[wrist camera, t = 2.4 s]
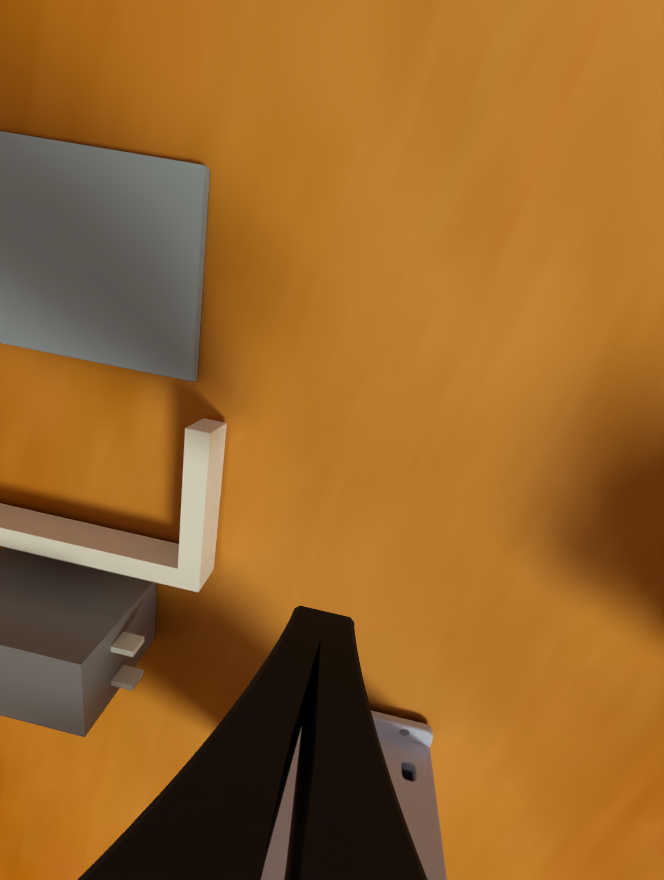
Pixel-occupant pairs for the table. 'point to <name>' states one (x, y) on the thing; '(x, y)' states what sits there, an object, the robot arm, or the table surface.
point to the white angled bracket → (131, 551)
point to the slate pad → (102, 254)
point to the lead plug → (68, 639)
